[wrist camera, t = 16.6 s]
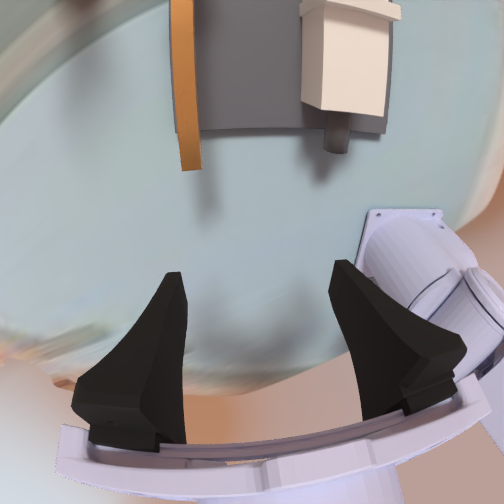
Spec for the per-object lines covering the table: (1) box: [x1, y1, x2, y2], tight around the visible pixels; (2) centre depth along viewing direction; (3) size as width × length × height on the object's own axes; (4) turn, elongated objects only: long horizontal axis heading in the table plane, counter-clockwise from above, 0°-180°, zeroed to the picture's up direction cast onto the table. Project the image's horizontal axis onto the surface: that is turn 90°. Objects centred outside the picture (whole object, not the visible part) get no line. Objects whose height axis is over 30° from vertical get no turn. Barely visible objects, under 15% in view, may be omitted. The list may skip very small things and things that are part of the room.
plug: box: [299, 0, 401, 154], centre depth 12 cm, size 4×17×5 cm, turn 0°
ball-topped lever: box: [171, 0, 203, 171], centre depth 9 cm, size 15×2×1 cm, turn 1°
